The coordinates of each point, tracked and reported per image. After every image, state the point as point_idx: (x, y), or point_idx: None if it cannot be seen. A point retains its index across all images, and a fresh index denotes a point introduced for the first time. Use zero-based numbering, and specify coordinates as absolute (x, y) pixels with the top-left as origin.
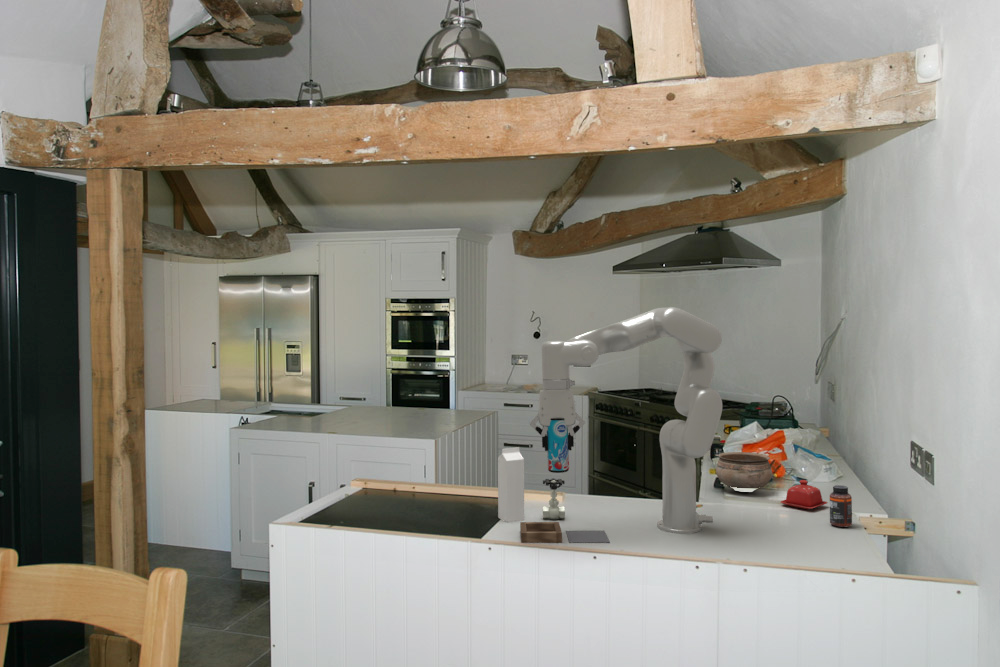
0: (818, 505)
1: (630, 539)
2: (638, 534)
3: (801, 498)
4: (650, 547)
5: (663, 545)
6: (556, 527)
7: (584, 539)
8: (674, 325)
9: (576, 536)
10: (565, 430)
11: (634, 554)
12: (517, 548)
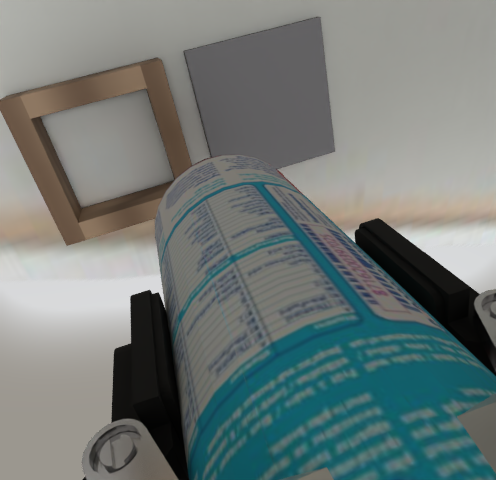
0: None
1: (391, 87)
2: (421, 21)
3: None
4: (430, 151)
5: (465, 124)
6: (170, 143)
7: (261, 146)
8: None
9: (233, 120)
10: None
11: (385, 219)
12: (74, 268)
